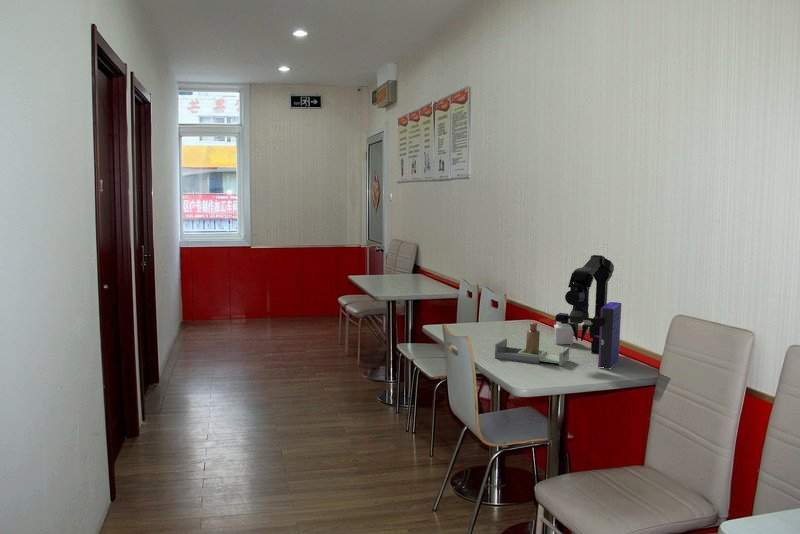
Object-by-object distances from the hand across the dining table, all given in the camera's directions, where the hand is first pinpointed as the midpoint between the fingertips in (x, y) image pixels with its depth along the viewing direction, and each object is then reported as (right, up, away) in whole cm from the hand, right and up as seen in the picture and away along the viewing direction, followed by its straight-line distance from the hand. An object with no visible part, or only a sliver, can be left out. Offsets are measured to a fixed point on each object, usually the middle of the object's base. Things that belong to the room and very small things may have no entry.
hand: (579, 340), depth 271 cm
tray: (-13, -9, +8) cm, 17 cm away
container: (+4, -6, +42) cm, 43 cm away
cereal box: (+13, -10, +4) cm, 17 cm away
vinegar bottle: (-17, -7, +10) cm, 21 cm away
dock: (-21, -8, +12) cm, 26 cm away
